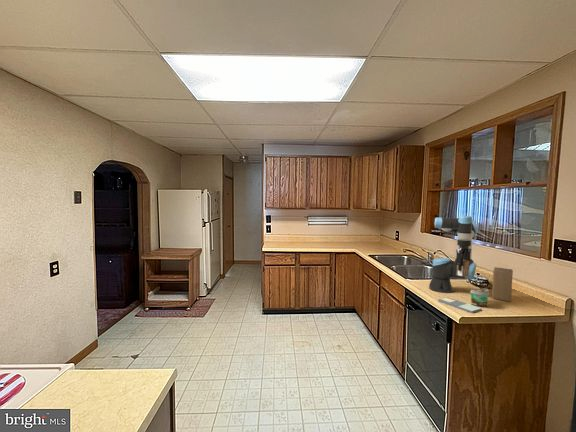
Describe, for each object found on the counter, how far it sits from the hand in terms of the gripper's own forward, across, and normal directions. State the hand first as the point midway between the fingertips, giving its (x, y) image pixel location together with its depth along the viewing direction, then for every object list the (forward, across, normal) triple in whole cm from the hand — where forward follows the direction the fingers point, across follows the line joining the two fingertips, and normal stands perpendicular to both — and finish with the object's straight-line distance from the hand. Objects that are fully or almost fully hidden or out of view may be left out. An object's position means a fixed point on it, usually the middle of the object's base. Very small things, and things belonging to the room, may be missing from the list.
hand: (462, 275), depth 182 cm
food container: (+17, +1, -12) cm, 21 cm away
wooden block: (+17, +28, -11) cm, 35 cm away
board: (+17, -11, -4) cm, 21 cm away
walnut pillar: (0, 0, 0) cm, 0 cm away
